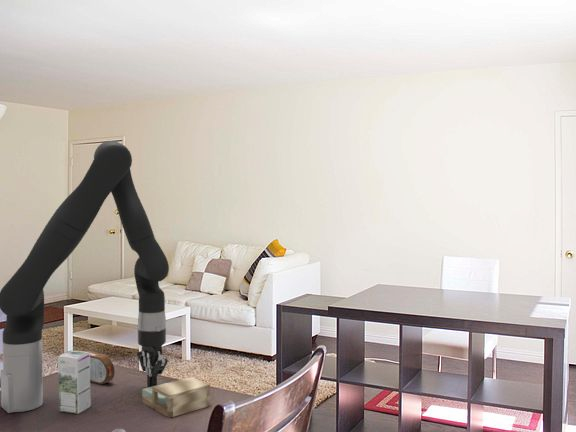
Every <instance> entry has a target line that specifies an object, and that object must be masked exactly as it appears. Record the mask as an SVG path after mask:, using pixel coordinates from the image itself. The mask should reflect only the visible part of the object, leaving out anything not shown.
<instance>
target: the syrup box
mask: <svg viewBox="0 0 576 432" xmlns="http://www.w3.org/2000/svg"><path fill="white" fill-rule="evenodd" d="M57 361H58V365H57V366H58V370H57V371H58V412H60V413H69V414H75V415H76V414H77V415H78V414H80V413H82V412H84V411H86V410H87V409H89V408H91V406H92V401H91V400H92V399H91V381H90V352H83V351H81V350H69V351H65V352H64V353H62V354H59V355H58V357H57Z"/></svg>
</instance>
